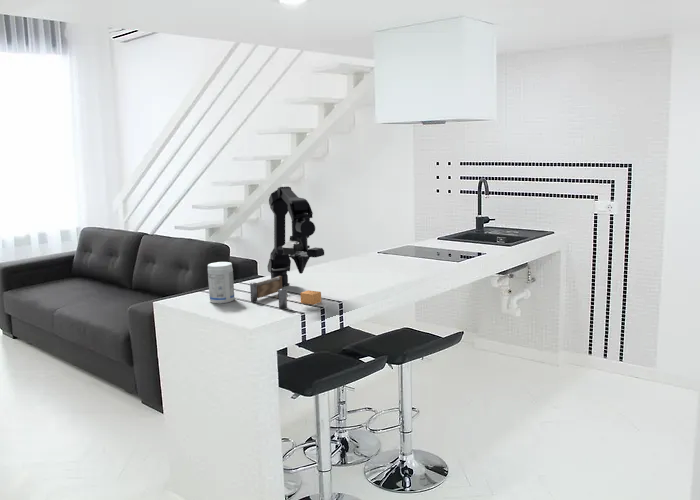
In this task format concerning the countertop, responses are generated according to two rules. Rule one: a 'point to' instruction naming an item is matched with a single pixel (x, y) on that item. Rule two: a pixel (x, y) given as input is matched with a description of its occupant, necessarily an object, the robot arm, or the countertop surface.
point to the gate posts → (281, 293)
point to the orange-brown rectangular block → (310, 297)
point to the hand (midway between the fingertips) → (300, 273)
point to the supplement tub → (221, 282)
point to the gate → (269, 286)
